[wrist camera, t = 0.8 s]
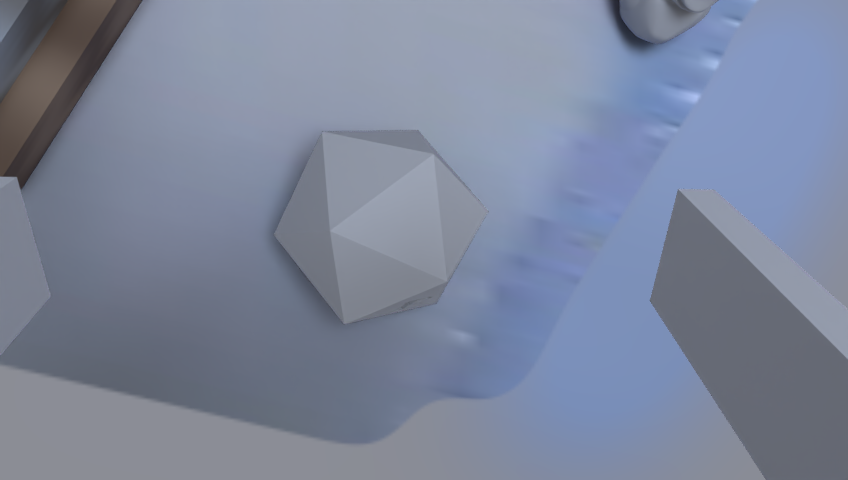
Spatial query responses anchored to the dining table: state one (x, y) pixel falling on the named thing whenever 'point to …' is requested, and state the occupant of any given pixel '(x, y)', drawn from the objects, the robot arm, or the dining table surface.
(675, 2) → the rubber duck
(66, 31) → the plinth
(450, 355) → the dining table surface
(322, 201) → the die
